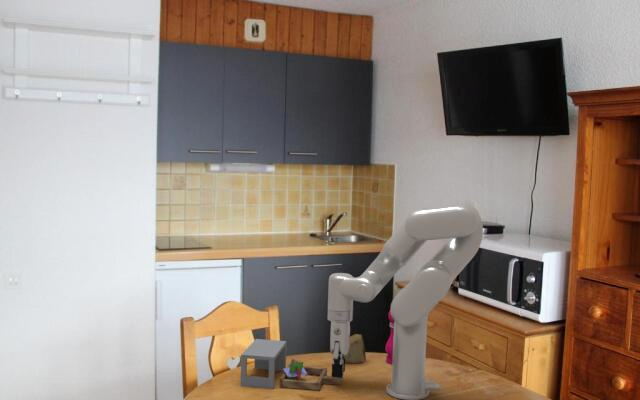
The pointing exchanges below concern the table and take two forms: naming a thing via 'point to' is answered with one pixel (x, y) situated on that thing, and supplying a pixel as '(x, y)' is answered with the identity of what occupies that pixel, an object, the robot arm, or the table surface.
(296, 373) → the geometric puzzle
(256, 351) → the open box
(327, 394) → the table surface
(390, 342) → the pepper mill
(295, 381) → the brown open frame
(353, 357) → the rock
